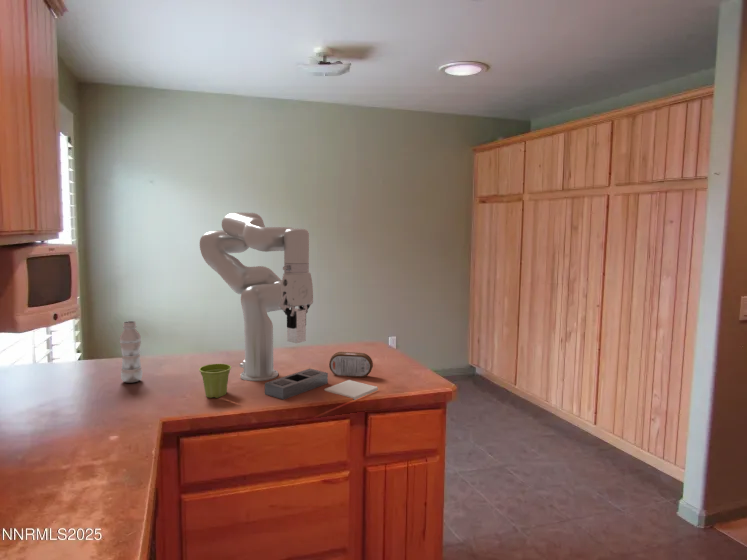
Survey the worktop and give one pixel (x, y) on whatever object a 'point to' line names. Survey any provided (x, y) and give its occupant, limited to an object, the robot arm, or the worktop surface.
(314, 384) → the grey compartment holder
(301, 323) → the steel block
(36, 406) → the worktop surface
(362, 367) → the tin
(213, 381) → the plant pot
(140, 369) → the plastic bottle
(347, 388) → the pad
